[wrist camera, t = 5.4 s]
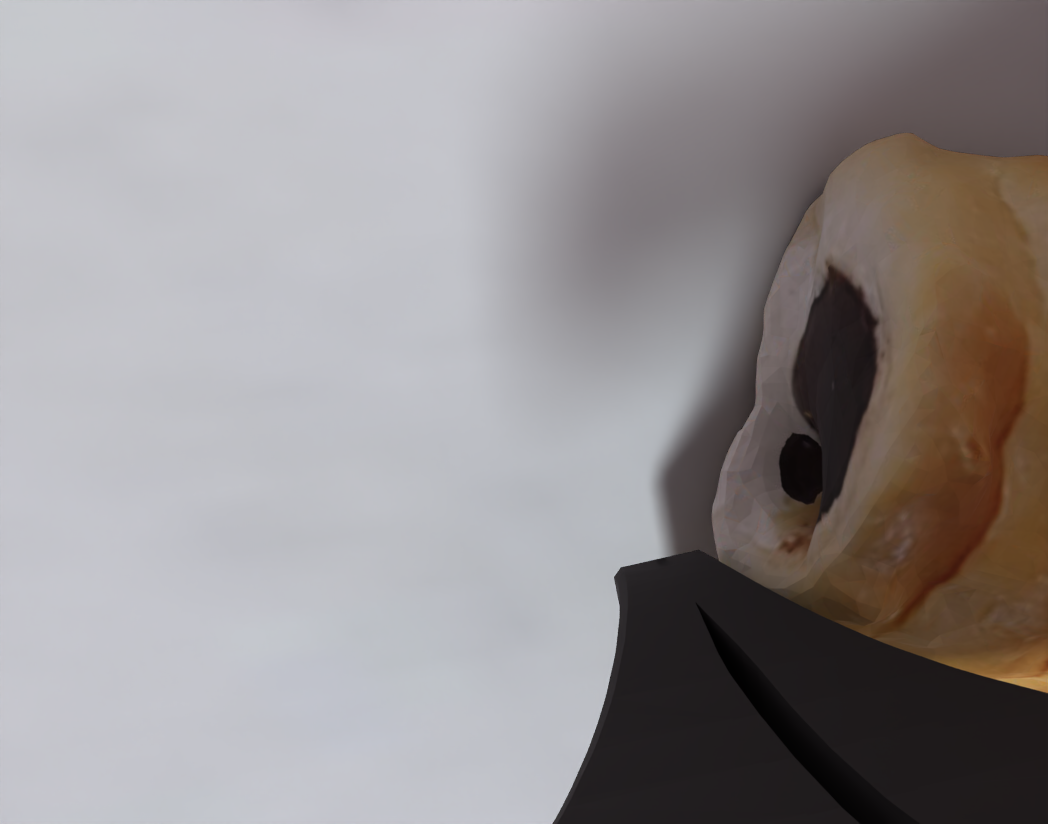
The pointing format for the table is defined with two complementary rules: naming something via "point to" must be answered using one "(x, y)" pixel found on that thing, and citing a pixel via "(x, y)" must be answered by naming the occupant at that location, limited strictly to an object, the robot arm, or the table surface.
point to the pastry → (907, 411)
